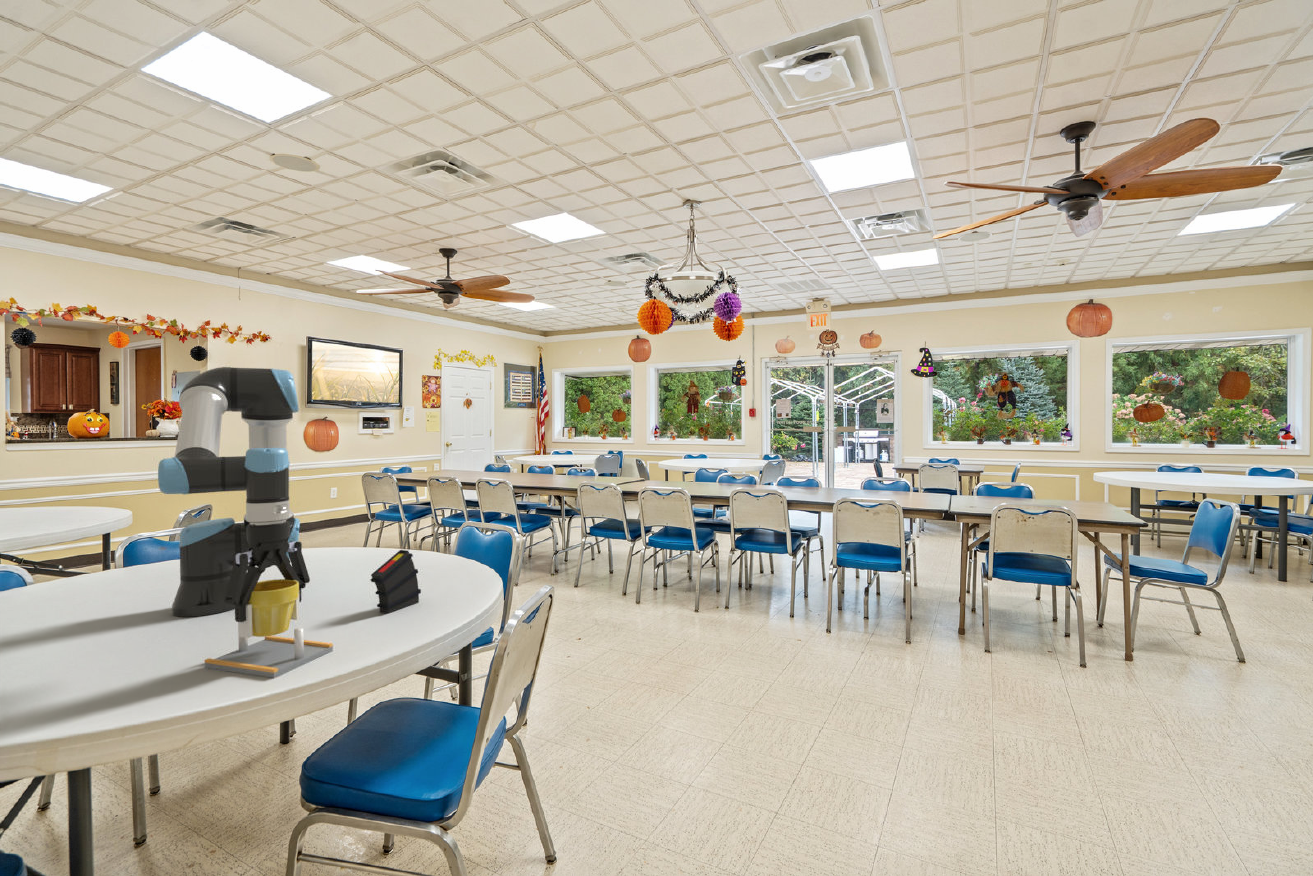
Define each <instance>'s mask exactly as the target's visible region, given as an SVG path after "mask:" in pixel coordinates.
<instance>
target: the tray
mask: <svg viewBox="0 0 1313 876" xmlns="http://www.w3.org/2000/svg"><path fill="white" fill-rule="evenodd" d="M293 635H294V636H293V637H294V638H292V637H284V636H283V637H282V636H276V635H272V636H264V639H263V640H259V641H257V642H254V643H252V644H249V639H248V638H246V637H238V649H236V650H234V651H231V652H229V653H225V654H224V655H220V656H218V657H216V658H205V659H204V661H203V662H204V669H210V670H211V669H212V670H219V671H224V672H231V673H238V674H245V675H250V676H251V675H252V676H260V677H264V678H271V679H275V678H277V677H280V676H281V675H284V674H286V673H288V672H290V671H292V670H294V669H297V668H299V667H301V666H303V665H305V664H307V663H310V662H312V661H314V660H317V659H318V658H321V657H323V656H325V655H327V654H329V653H331V652H332V651H334V645H333V644H334V643H332V642H323V641H316V640H307V639H304V638H305V637H304V628H303V627H298V628H294V631H293Z"/></svg>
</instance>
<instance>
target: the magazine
mask: <svg viewBox="0 0 1313 876" xmlns="http://www.w3.org/2000/svg"><path fill="white" fill-rule="evenodd" d="M413 557H414V555H413V553H412V552H411V553H410V552H409V550H407V549H406V550H405V549H399V551H397V552H396V553H395V554H394V555H393V556H392V557H390V558H389V559H387V561H385V562H384V563H383V564H382V565H381V566H379V567H378V568H377V569H376V570H375V571H374V572H372V573H371V574H370V575H371V578H370V582H371V583H374V584H375V587H376V591H375V595H378V601H379V602H378V603H377V604H376V607H377V608H379V613H383V614H390V613H393V612H396V611H398V610H402V609H404V608H406V607H409V606H412V605H415V604H419V602H420V598H419V597H420V596H419V595H420V594H421V593H422V589H421V588H419V581H418V576H417V574H418V573H419V571H418V568H416V567H415V564H414V560H413V559H412V558H413Z"/></svg>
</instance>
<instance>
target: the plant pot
mask: <svg viewBox="0 0 1313 876" xmlns="http://www.w3.org/2000/svg"><path fill="white" fill-rule="evenodd" d="M298 596H299V582H298V581H296V580H286V579H285V578H283V579H282V578H280V579H277V578H276V579H268V580H261V581H258V582H257V584H256V586H255V589H254V591H253V592H252V594H251V597H250V599H249V601H248V603H247V604H252V637H255V638H257V637H258V638H259V637H260V638H261V637H262V638H263V637H264V638H265V636H276V635H279V634H283V633H285V632H287V631H288V630H289V627H290V623H291V620H292V619H291V615H292V611H293V607H294V602H295V600H296V599H297V598H298Z"/></svg>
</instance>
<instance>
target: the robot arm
mask: <svg viewBox="0 0 1313 876" xmlns="http://www.w3.org/2000/svg"><path fill="white" fill-rule="evenodd" d="M293 375H294V374H292V372H290V371H289V370H286V369H278V368H262V367H261V368H260V367H259V368H257V367H231V366H222V367H221V366H220V367H215V368H211V369H208V370H205V371H203V372H201V373H199V374H198V375H196V376H194V377H193V378H192V379H190V380H189V381H188V382H187V383H186V384H185V385H184V387H183V388H182V389H181V391H180V394H179V398H178V399H179V400H178V405H179V408H180V410H181V411H182V412H181V418H180V423H179V424H180V425H179V429H178V435H177V441H176V447H175V453H174V456H173V457H170V458H168V457H167V458H163V459H161V460H160V461H159V462H158V468H157V469H158V470H157V484H158V488H159V491H160V492H161V493H162V494H165V495H191V494H205V493H206V494H207V493H208V494H209V493H223V492H241V491H245V492H246V495H245V496H246V500H245V511H246V513H245V514H244V515H243V522H236V521H235V520H234V518H232V517H224V518H217V519H210V520H209V519H208V520H205V521H201V522H197V523H194V524H190V525H187V526H185V527H184V528H182V529H181V530H180V533H179V544H178V548H179V574H180V575H179V578H180V580H179V581H180V584H179V586H178V588H177V591H176V594H175V597H174V601H173V602H172V605H171V606H172V607H171V609H172V610H171V611H172V612H171V613H172V615H173V616H174V617H175V616H176V617H185V618H186V617H199V616H200V617H201V616H208V615H214V614H218V613H223V612H226V611H230V610H233V609H234V620H235V622H237V624H238V625H237V627H238V628H237V629H238V633H237V634H238V637H237V638H239V637H246V638H252V637H253V636H252V604H247V603H248V601H249V599H250V597H251V594H252V592H253V591H254V589H255V586H256V584H257V582H259V580H260V578H261V576H262V574H263V573H264V572H265V571H266V569H267V568H270V567H274V566H275V567H277V569H278V571H279V572H280V574H281V575H282V576H283V579H286V580H296V581H298V582H299V596H298V598H297V599H296V600H295V602H294V607H293V611H292V615H291V620H292V621H293V620H294V621H298V620H301V618H300V616H301V615H300V613H301V611H300V610H301V609H300V608H301V607H300V603H302V599H303V598H302V590H303V589H305V588H306V585H307V584H309V583H310V582H311V581H310V580H311V579H310V574H309V572H308V568H307V566H306V562H305V558H304V556H303V552H302V549H303V548H302V547H303V543H302V542H301V541H299V537H300V526H301V523H300V518H297V517H294V516H295V515H294V514H295V513H294V512H293V510H291V509H290V458H289V451H288V448H287V446H288V445H287V444H288V443H287V425H288V424H289V423H290V422H291V421H292V420H293V417H294V416H293V413H294V414H296V413H298V412H299V403H298V402H299V401H298V396H297V388H296V383H295V380H294V376H293ZM226 412H233V413H234V412H239V413H241V415H240V416H241V417H240V418H241V420H243V421H244V422H245V423H246V424H247V426H248V449H247V450H246V452H245V455H243V456H238V455H237V456H220V444H221V433H222V432H221V431H222V421H223V419H222V418H223V415H224V414H225V413H226Z"/></svg>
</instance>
